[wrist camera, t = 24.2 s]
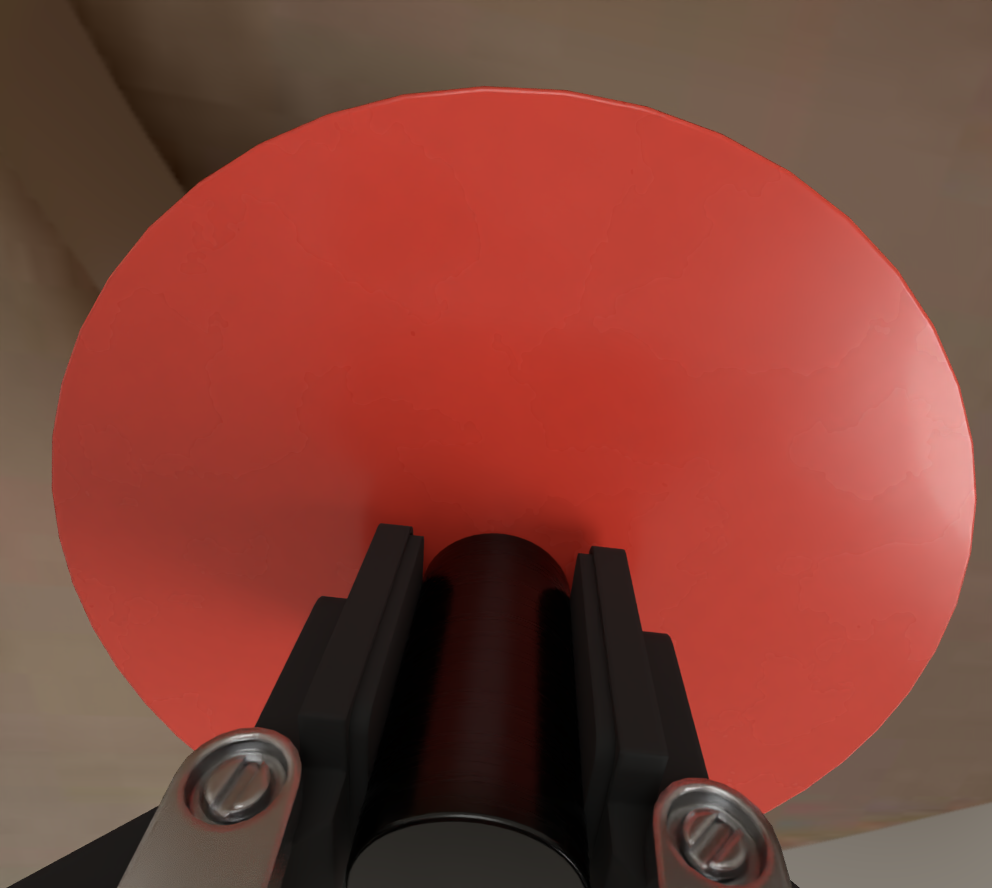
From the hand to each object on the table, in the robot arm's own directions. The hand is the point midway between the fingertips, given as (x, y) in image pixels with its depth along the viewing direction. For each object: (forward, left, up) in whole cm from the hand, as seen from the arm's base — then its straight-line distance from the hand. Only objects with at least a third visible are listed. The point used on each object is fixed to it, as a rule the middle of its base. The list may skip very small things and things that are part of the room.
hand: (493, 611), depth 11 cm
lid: (0, 0, -1) cm, 1 cm away
